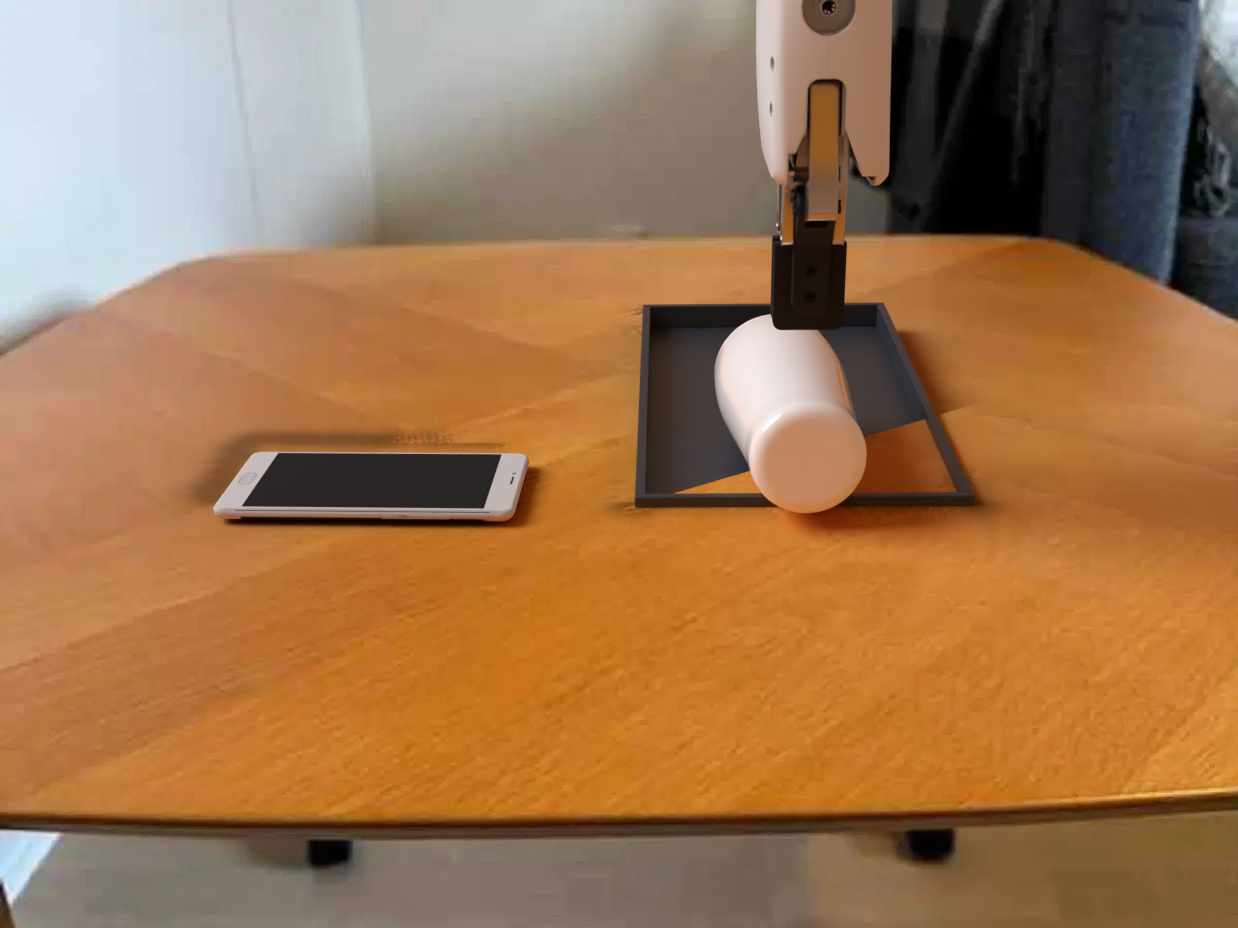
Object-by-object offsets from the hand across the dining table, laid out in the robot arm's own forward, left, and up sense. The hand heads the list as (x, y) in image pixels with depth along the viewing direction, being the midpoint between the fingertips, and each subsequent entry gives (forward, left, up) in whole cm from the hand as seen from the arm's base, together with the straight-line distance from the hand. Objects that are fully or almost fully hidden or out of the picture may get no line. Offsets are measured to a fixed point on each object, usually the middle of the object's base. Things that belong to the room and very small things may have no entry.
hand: (806, 323), depth 67 cm
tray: (-8, -12, -10) cm, 17 cm away
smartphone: (+15, -15, -10) cm, 24 cm away
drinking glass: (+2, +3, -5) cm, 7 cm away
